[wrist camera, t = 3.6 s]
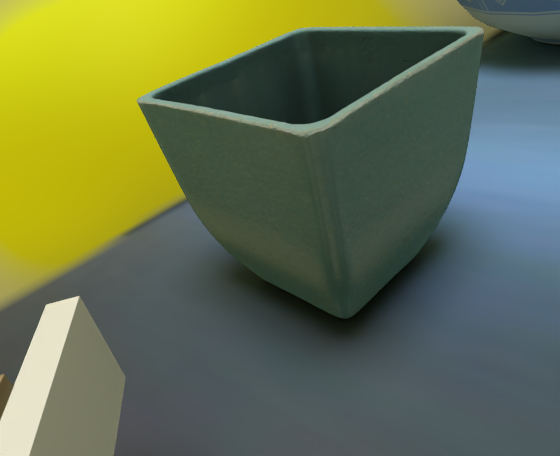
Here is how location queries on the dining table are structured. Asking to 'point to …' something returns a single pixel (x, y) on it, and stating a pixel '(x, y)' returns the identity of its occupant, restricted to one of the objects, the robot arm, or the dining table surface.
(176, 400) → the dining table surface
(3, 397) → the maple block
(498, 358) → the dining table surface
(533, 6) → the ramen bowl
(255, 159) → the flower pot
